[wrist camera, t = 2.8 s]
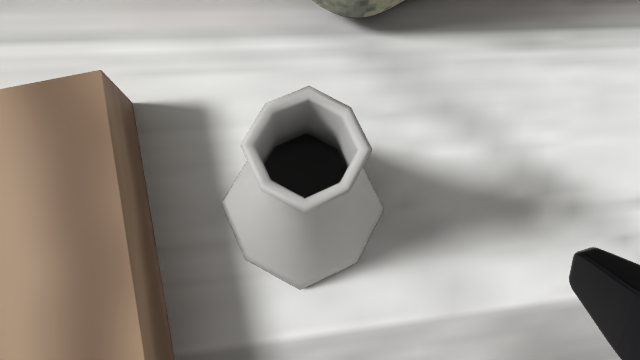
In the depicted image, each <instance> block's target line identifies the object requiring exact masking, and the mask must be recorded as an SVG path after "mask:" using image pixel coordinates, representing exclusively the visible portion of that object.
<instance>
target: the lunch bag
mask: <svg viewBox="0 0 640 360" xmlns="http://www.w3.org/2000/svg"><path fill="white" fill-rule="evenodd" d="M313 1H314V2H316V3H317V4H318V5H320V6H321V7H323V8H324V9H327V10H329V11H331V12H333V13H335V14H339V15H342V16H345V17H356V18H359V17H368V16H373V15H376V14H379V13H381V12H383V11H386V10H388V9H390V8H392V7H394V6H396V5H398V4H399V3H401V2H403V1H405V0H313Z"/></svg>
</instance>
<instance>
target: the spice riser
mask: <svg viewBox="0 0 640 360" xmlns="http://www.w3.org/2000/svg"><path fill="white" fill-rule="evenodd" d="M0 360H174V355H173V349H172V343H171V337H170V331H169V325H168V318H167V312H166V306H165V300H164V294H163V288H162V282H161V276H160V270H159V264H158V257H157V251H156V245H155V239H154V233H153V227H152V221H151V215H150V209H149V203H148V196H147V190H146V184H145V178H144V172H143V166H142V160H141V154H140V148H139V142H138V135H137V129H136V123H135V117H134V111H133V105H132V102H131V101H130V100H129V99H128V98H127V97H126V96H125V95H124V94H123V92H122V91H121V90H120V89H119V88H118V87H117V86H116V85H115V84H114V83H113V82H112V81H111V80H110V79H109V78H108V77H107V76H106V75H105V74H104V73H103V72H102V71H101V70H98V71H93V72H87V73H82V74H77V75H72V76H67V77H61V78H56V79H51V80H46V81H41V82H35V83H30V84H25V85H20V86H15V87H9V88H4V89H0Z"/></svg>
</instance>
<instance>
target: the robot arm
mask: <svg viewBox="0 0 640 360" xmlns="http://www.w3.org/2000/svg"><path fill="white" fill-rule="evenodd" d="M569 282H570V285H571V287H572V289H573V291H574V292H575V294H576V295H577V297H578V298H579V300H580V301H581V303H582V304H583V306H584V307H585V309H586V310H587V311H588V313H589V314H590V316H591V317H592V319H593V320H594V322H595V323H596V325H597V326H598V328H599V329H600V331H601V332H602V333H603V335H604V336H605V338H606V339H607V341H608V342H609V344H610V345H611V346H612V348H613V349H614V350H615V352H616V353H617V354H618V356H619V357H620V358H621V359H622V360H640V265H639V264H636V263H634V262H631V261H629V260H626V259H624V258H621V257H619V256H616V255H614V254H611V253H609V252H606V251H604V250H601V249H599V248H594V247H592V248H588V249H585V250H582V251H578V252H576V253H575V254H574V257H573V261H572V266H571V270H570V275H569Z"/></svg>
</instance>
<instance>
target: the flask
mask: <svg viewBox="0 0 640 360" xmlns="http://www.w3.org/2000/svg"><path fill="white" fill-rule="evenodd" d="M241 147H242V149H243V152H244V154H245V156H246V158H247V162H246V163H245V165H244V167H243V168H242V170H241V172H240V173H239V175H238V177H237V178H236V180H235V182H234V183H233V185H232V187H231V188H230V190H229V192H228V193H227V195H226V197H225V198H224V200H223V202H222V206H223V208H224V210H225V213H226V215H227V217H228V220H229V222H230V225H231V227H232V229H233V232H234V234H235V236H236V239H237V241H238V243H239V246H240V248H241V250H242V253H243V255H244V258H245V260H247V261H249V262H251V263H253V264H254V265H256V266H258V267H260V268H262V269H263V270H265V271H267V272H269V273H271V274H272V275H274V276H276V277H278V278H280V279H281V280H283V281H285V282H287V283H289V284H290V285H292V286H294V287H296V288H298V289H300V290H301V289H303V288H305V287H307V286H309V285H311V284H314V283H316V282H318V281H320V280H322V279H324V278H326V277H328V276H330V275H332V274H334V273H337V272H339V271H341V270H343V269H345V268H347V267H349V266H351V265H353V264H355V263H357V261H358V259H359V257H360V255H361V253H362V251H363V249H364V247H365V245H366V243H367V241H368V239H369V238H370V236H371V234H372V232H373V230H374V228H375V226H376V224H377V222H378V220H379V218H380V216H381V214H382V212H383V210H384V208H383V206H382V204H381V202H380V200H379V198H378V196H377V194H376V192H375V190H374V188H373V186H372V184H371V182H370V180H369V178H368V176H367V174H366V172H365V170H364V168H363V167H364V165H365V163H366V161H367V159H368V157H369V155H370V153H371V151H372V148H371V146H370V144H369V142H368V140H367V138H366V136H365V134H364V132H363V130H362V128H361V126H360V124H359V122H358V120H357V118H356V116H355V114H354V112H353V110H352V108H351V107H349V106H347V105H345V104H343V103H341V102H339V101H338V100H336V99H334V98H332V97H330V96H328V95H326V94H324V93H322V92H320V91H318V90H316V89H314V88H312V87H311V86H307V87H305V88H302V89H300V90H297V91H295V92H292V93H290V94H288V95H285V96H283V97H280V98H278V99H275V100H273V101H271V102H268V103H266V104H265V105H264V107H263V108H262V110H261V111H260V113H259V115H258V116H257V118H256V120H255V121H254V123H253V125H252V126H251V128H250V130H249V131H248V133H247V134H246V136H245V138H244V139H243V141H242V143H241Z"/></svg>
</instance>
